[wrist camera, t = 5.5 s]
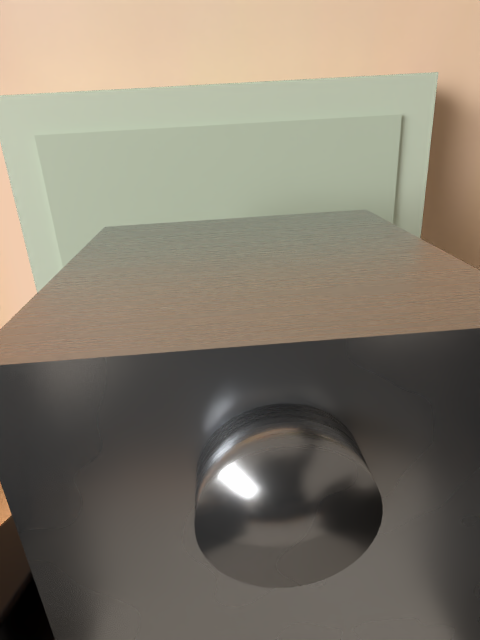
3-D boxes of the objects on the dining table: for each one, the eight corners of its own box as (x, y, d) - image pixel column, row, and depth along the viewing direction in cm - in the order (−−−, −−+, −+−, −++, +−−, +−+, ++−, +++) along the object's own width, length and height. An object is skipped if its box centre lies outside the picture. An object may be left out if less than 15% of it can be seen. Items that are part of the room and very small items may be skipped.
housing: (366, 209, 9) (635, 352, 3) (347, 518, 12) (466, 852, 7) (104, 226, 9) (-82, 409, 3) (158, 536, 12) (114, 895, 6)
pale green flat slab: (401, 81, 15) (442, 71, 12) (373, 434, 20) (397, 477, 18) (24, 101, 14) (-15, 95, 12) (102, 458, 20) (87, 505, 17)
